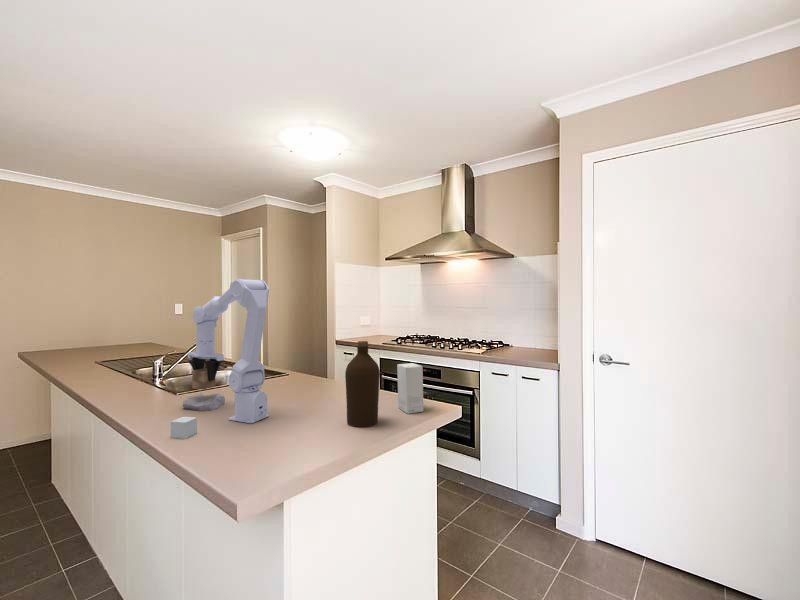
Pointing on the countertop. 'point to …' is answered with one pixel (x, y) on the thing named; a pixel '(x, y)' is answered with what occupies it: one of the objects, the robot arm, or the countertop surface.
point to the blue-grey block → (183, 427)
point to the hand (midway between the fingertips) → (205, 380)
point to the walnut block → (201, 379)
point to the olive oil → (362, 388)
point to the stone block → (204, 402)
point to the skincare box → (410, 388)
